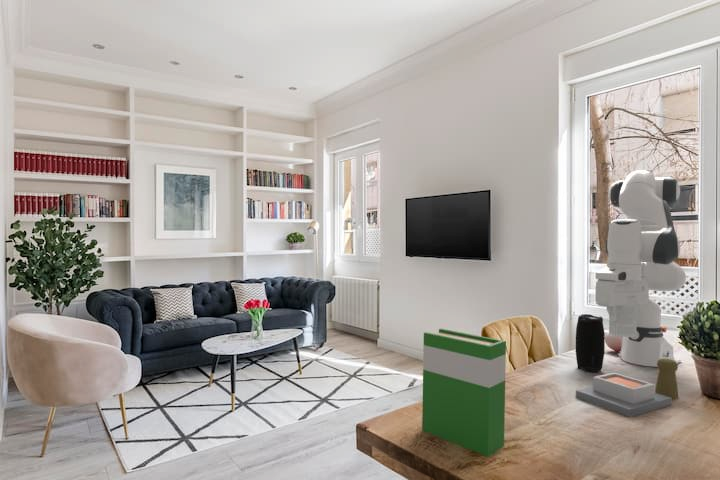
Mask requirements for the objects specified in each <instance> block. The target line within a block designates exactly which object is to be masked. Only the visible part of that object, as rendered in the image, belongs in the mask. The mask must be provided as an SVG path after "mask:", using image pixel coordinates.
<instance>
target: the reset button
mask: <svg viewBox="0 0 720 480" xmlns="http://www.w3.org/2000/svg"><path fill="white" fill-rule="evenodd" d="M606 380H609V381H612V382H615V383H618V384H622V385H625V386H628V387H631V388H634V387H638V386H642V384H638V383H635V382H632V381H629V380H625V379H622V378H619V377H613V378H608V379H606Z"/></svg>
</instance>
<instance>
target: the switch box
mask: <svg viewBox="0 0 720 480" xmlns="http://www.w3.org/2000/svg"><path fill="white" fill-rule="evenodd" d="M613 377H619V378H622V379H625V380H629V381H632V382H635V383H638V384H642V386H638V387H634V388H631V387H628V386H625V385H622V384H618V383H615V382H612V381H609V380H606V379H608V378H613ZM592 379H593V380H592V381H593V383H592V386H589V387H585V388H581V389H576V390H575V397H576V398H577V399H579V400H580V399H581V400H583V401H586V402H588V403H591V404H594V405H597V406H599V407H602V408H605V409H608V410H610V411H612V412H615V413H618V414H621V415H623V416H626V417H629V418H630V417H634V416H637V415H641V414H645V413H648V412H651V411H655V410H658V409H662V408H665V407H668V406H672V400H673V399H672V398H671V397H667V396H664V395H661V394H658V393H655V388H656V385H655V384H654V383H651V382H647V381H645V380H641V379H638V378H634V377H631V376H627V375H625V374H621V373H618V372H610V373H604V374H600V375H599V374H598V375H596V376H593V378H592Z"/></svg>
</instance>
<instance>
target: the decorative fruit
mask: <svg viewBox="0 0 720 480" xmlns="http://www.w3.org/2000/svg"><path fill="white" fill-rule="evenodd" d="M622 339H623V337H615V336H613V335H611V334H609V332H607V333H606V334H605V344H606V346H607V347H608V348H609V349H610V350H612V351H614V352H615V353H621V347H622Z"/></svg>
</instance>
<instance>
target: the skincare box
mask: <svg viewBox="0 0 720 480" xmlns="http://www.w3.org/2000/svg"><path fill="white" fill-rule="evenodd" d="M615 311H616V315H618V321H615V322H613V321H610V320H609V319H608V321H609V322H608V333H609V334H611V335H613V336H615V337H636V328H637V297H636V296H627V305H625V306H617V309H616V310H615Z"/></svg>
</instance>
